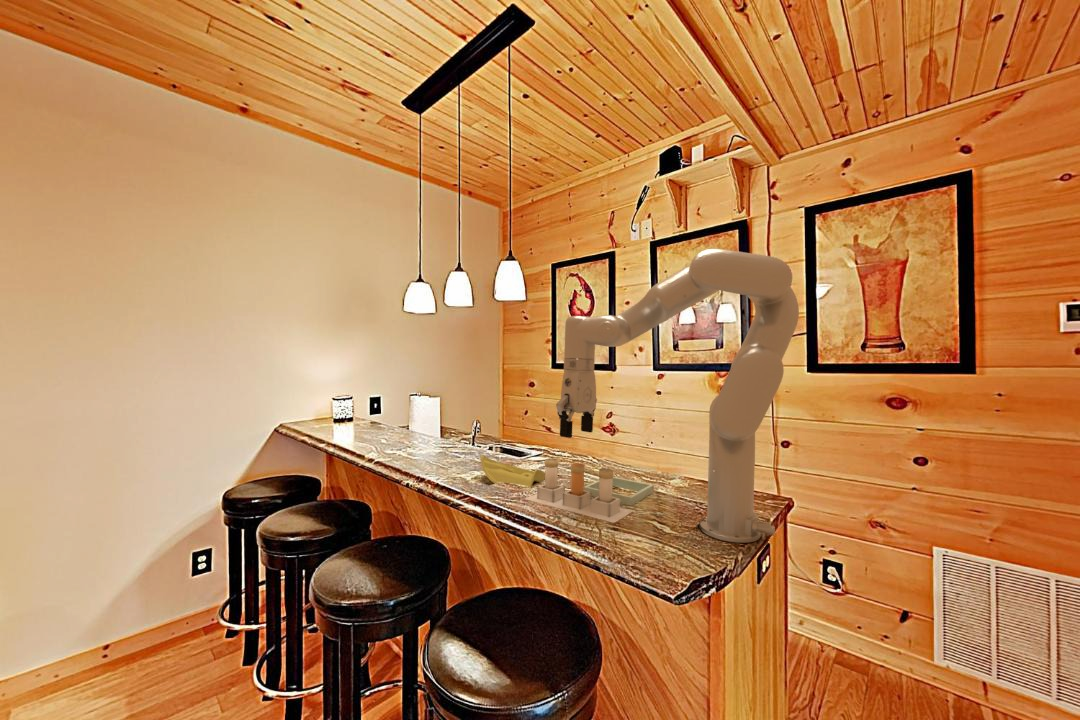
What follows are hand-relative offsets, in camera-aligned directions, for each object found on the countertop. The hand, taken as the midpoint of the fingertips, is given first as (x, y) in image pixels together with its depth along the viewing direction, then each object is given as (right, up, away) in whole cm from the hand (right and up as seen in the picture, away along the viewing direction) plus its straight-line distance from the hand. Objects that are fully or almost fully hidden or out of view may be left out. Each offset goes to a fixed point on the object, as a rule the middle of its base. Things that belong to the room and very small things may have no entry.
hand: (576, 434), depth 116 cm
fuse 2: (+7, -18, -4) cm, 20 cm away
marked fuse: (0, -18, 0) cm, 18 cm away
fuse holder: (0, -19, 0) cm, 19 cm away
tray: (+12, -19, +10) cm, 25 cm away
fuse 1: (-6, -18, +5) cm, 19 cm away
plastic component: (-18, -19, +24) cm, 35 cm away
